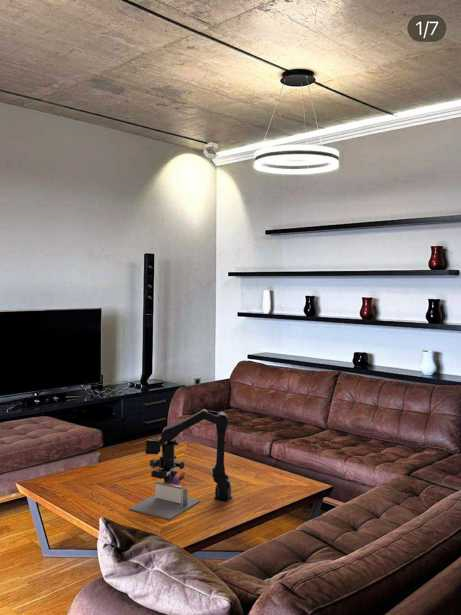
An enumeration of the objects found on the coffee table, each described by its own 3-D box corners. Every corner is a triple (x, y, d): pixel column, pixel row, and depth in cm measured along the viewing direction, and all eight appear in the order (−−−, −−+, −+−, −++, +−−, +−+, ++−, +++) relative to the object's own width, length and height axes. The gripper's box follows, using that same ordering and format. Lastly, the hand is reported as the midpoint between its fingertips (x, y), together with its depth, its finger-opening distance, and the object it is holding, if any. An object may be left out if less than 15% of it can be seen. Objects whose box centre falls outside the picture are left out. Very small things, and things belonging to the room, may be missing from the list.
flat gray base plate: (200, 501, 271) (200, 484, 270) (170, 520, 250) (170, 501, 249) (160, 492, 281) (161, 475, 281) (128, 509, 260) (128, 491, 260)
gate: (182, 502, 267) (182, 486, 266) (180, 503, 265) (180, 487, 265) (157, 496, 274) (157, 480, 273) (155, 497, 272) (155, 481, 272)
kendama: (188, 469, 304) (178, 479, 285) (185, 480, 305) (176, 491, 285) (177, 466, 305) (166, 475, 286) (174, 477, 306) (164, 488, 286)
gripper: (165, 446, 285) (165, 478, 286) (141, 456, 269) (141, 490, 270) (185, 450, 279) (184, 482, 280) (161, 460, 263) (161, 495, 264)
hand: (167, 487), depth 274 cm, fingers closed
